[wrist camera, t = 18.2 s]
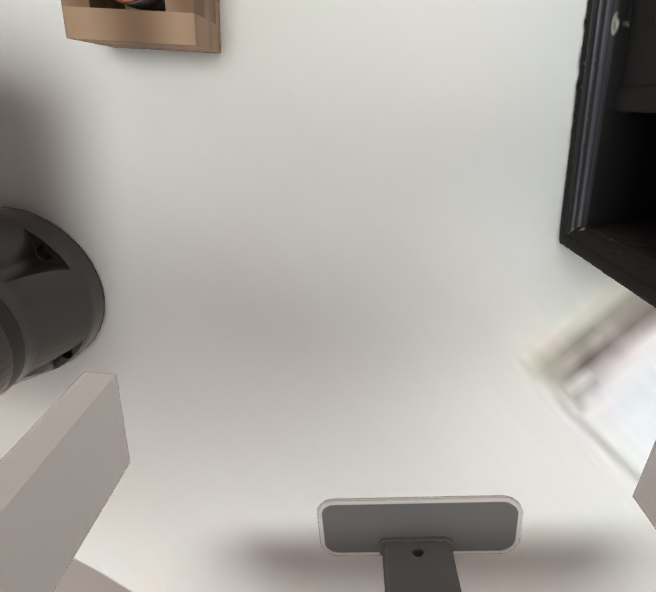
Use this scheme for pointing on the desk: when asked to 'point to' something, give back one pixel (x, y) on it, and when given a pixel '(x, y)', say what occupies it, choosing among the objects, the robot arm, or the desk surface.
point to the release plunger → (145, 4)
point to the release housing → (145, 25)
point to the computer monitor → (420, 534)
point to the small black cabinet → (615, 147)
